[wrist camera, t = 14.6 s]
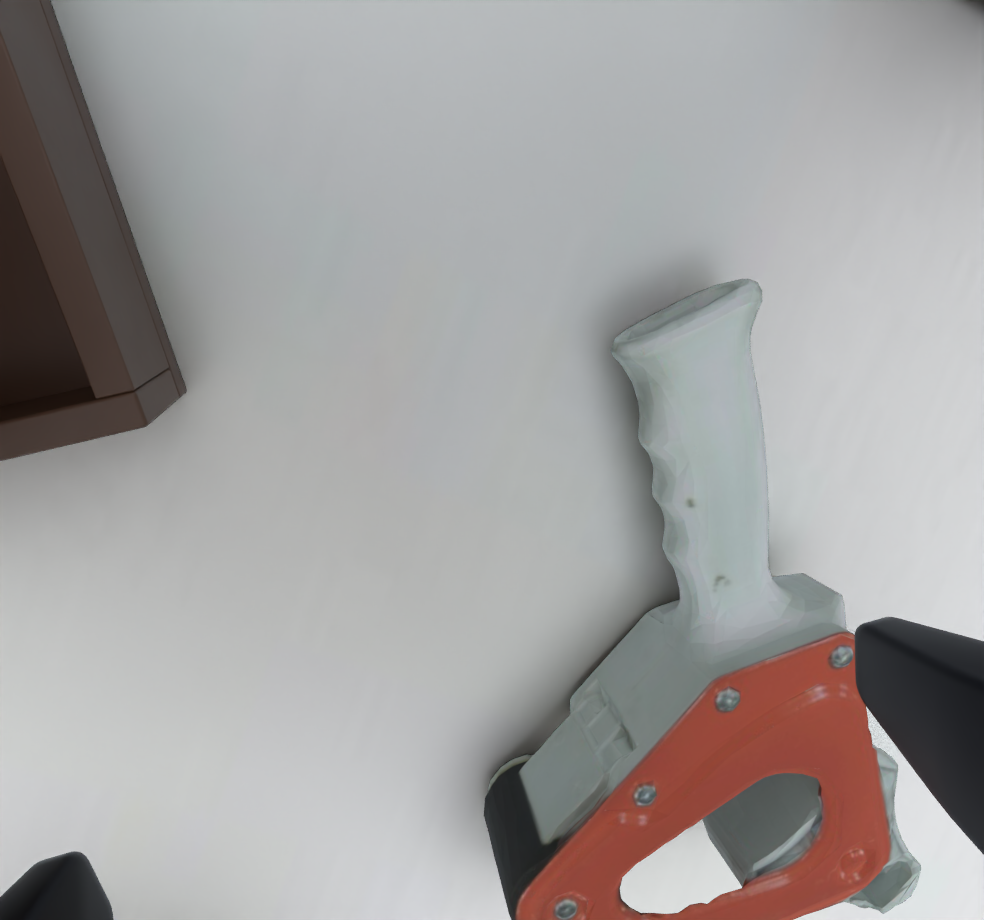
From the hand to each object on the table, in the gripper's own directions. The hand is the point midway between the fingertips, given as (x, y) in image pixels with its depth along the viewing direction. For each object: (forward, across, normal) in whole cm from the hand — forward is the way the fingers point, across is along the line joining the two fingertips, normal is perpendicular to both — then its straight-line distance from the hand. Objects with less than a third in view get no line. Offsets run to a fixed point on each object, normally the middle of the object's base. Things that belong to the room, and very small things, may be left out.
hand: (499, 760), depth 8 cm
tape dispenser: (+13, -7, +9) cm, 17 cm away
